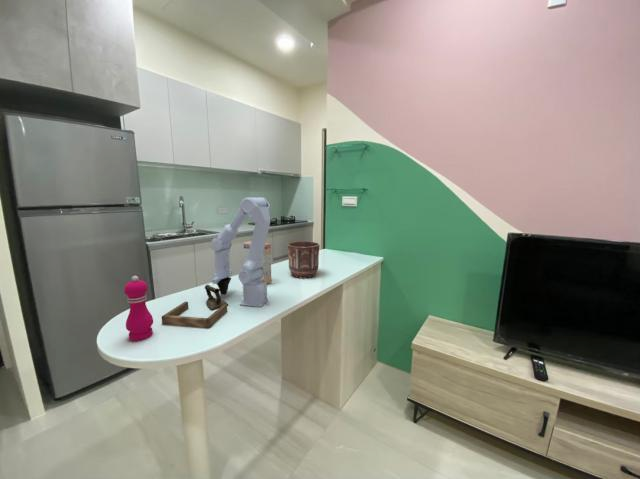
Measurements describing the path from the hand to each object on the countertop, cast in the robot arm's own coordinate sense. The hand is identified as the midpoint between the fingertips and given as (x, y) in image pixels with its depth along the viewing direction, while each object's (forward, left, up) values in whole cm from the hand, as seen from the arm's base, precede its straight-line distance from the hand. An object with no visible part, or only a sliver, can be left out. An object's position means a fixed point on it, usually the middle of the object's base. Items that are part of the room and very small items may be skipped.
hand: (223, 294), depth 118 cm
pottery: (-29, -37, -1) cm, 47 cm away
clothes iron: (0, +9, -1) cm, 9 cm away
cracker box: (-8, -21, -1) cm, 23 cm away
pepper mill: (+10, +36, -1) cm, 37 cm away
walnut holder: (0, +21, -1) cm, 21 cm away
